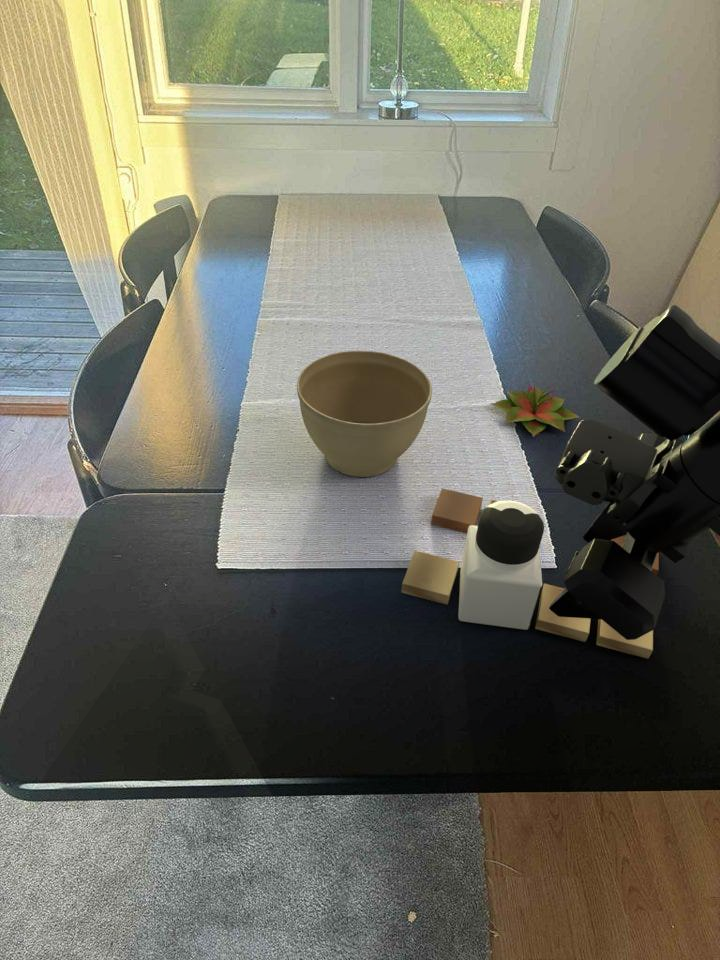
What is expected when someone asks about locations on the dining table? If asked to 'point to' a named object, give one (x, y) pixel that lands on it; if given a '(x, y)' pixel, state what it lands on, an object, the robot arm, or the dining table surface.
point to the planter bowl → (363, 409)
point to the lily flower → (535, 409)
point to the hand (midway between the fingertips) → (571, 573)
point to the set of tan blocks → (437, 580)
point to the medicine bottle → (502, 567)
